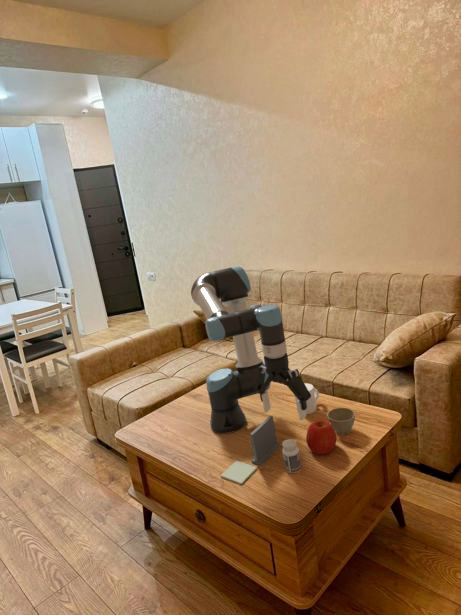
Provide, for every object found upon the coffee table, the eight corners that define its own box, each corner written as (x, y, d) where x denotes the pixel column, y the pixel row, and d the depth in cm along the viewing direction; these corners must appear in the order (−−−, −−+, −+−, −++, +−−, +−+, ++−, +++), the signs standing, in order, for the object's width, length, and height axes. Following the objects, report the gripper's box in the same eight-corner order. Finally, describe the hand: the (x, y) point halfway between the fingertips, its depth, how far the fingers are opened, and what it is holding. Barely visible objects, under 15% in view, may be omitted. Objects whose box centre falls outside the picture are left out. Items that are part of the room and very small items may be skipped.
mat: (221, 476, 144) (220, 475, 144) (236, 462, 150) (236, 460, 150) (241, 484, 138) (241, 483, 138) (257, 468, 145) (256, 467, 144)
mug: (289, 389, 175) (308, 378, 182) (293, 410, 178) (311, 399, 185) (304, 394, 169) (323, 382, 176) (307, 416, 171) (326, 404, 178)
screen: (252, 462, 148) (246, 433, 145) (271, 443, 158) (267, 414, 155) (261, 465, 146) (255, 435, 143) (280, 445, 155) (276, 417, 152)
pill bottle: (303, 464, 142) (300, 438, 140) (299, 474, 138) (295, 448, 135) (287, 462, 145) (283, 437, 143) (283, 472, 140) (278, 447, 138)
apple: (339, 456, 143) (336, 429, 140) (308, 458, 145) (304, 432, 142) (336, 438, 153) (333, 413, 150) (307, 440, 155) (303, 415, 153)
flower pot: (358, 437, 151) (356, 420, 150) (330, 439, 154) (327, 422, 152) (355, 423, 161) (353, 406, 159) (329, 424, 163) (327, 408, 161)
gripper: (237, 355, 136) (247, 412, 141) (304, 363, 120) (313, 427, 125) (250, 346, 142) (260, 402, 147) (316, 353, 126) (324, 415, 131)
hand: (284, 414), depth 136 cm, fingers open, 13 cm apart
